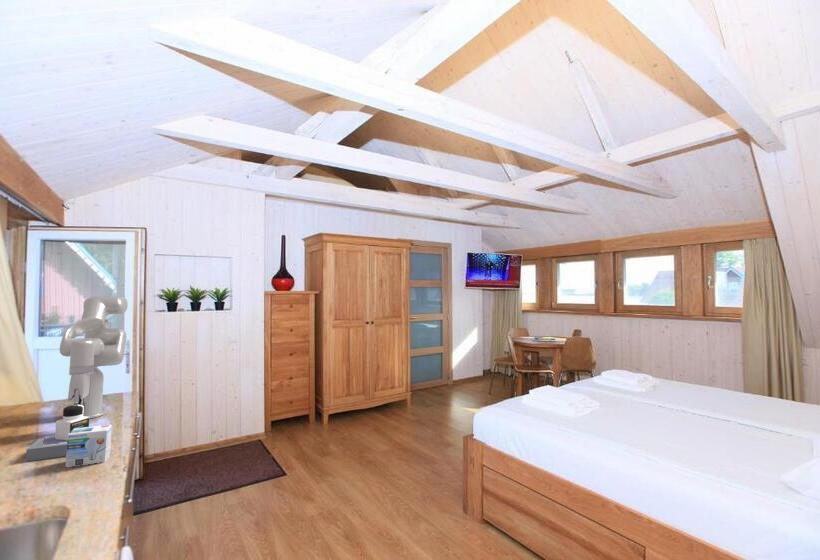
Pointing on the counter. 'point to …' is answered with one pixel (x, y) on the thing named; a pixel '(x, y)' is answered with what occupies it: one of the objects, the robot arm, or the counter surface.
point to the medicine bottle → (71, 421)
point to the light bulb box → (88, 445)
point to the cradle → (45, 451)
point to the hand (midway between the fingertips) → (78, 415)
